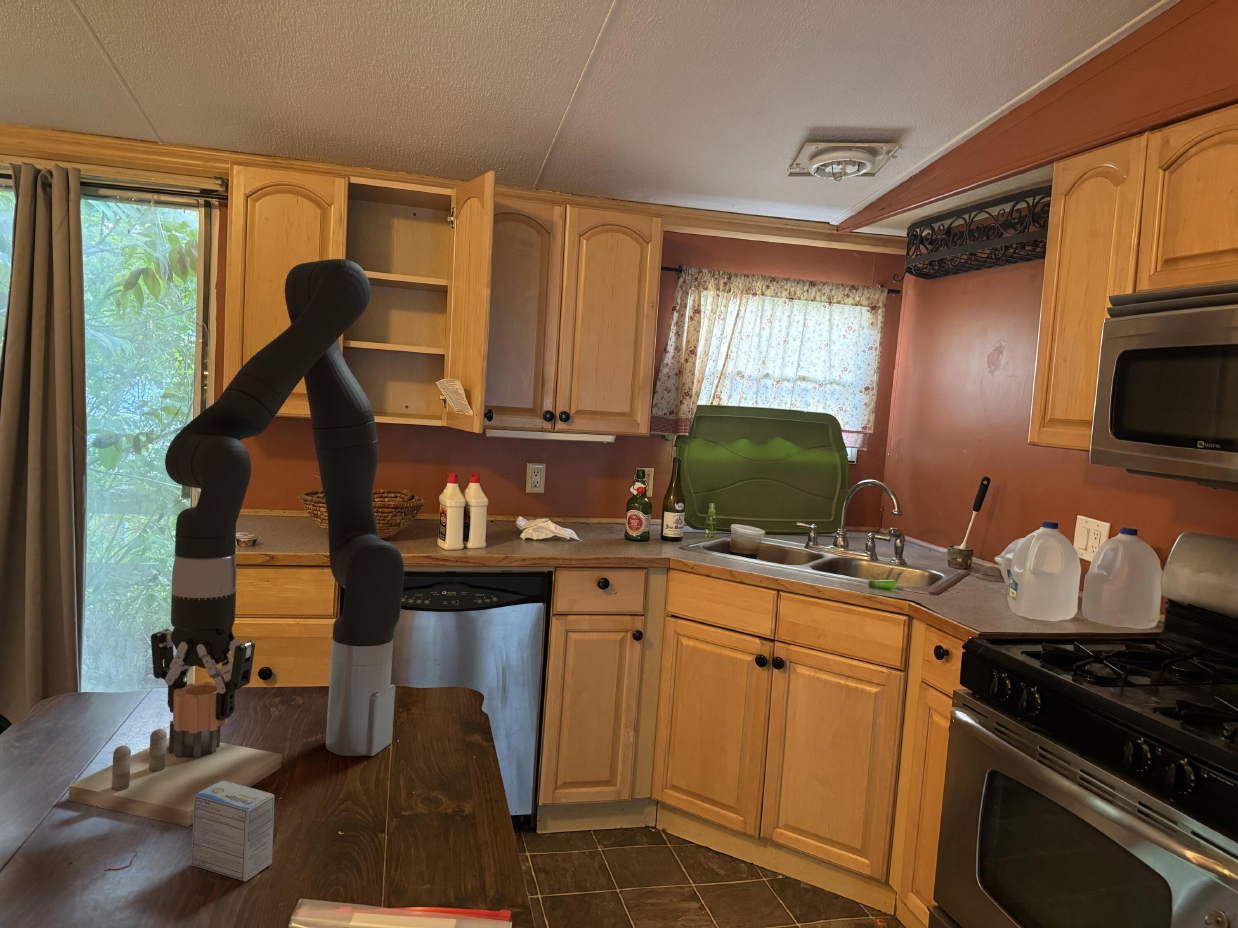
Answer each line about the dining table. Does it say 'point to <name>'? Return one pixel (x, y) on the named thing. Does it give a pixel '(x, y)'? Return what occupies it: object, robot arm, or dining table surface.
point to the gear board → (172, 774)
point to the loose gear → (196, 708)
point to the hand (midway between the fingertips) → (200, 714)
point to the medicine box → (232, 830)
